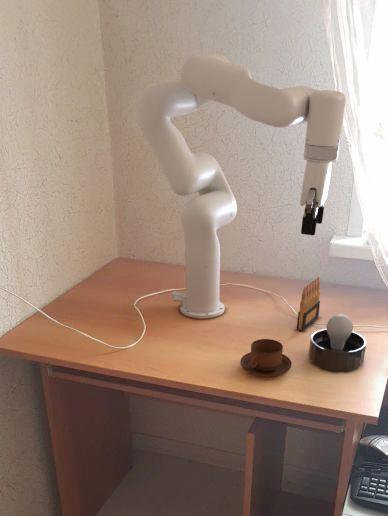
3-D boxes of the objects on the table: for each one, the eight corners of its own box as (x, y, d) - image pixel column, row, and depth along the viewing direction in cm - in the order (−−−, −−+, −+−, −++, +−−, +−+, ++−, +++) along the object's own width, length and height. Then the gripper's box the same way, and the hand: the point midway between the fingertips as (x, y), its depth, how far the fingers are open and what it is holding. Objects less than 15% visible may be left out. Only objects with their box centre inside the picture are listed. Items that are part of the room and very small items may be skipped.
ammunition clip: (302, 331, 166) (306, 289, 160) (296, 330, 167) (300, 287, 161) (318, 317, 174) (323, 276, 168) (312, 316, 175) (316, 275, 168)
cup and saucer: (283, 385, 142) (285, 361, 139) (233, 375, 146) (233, 352, 143) (296, 362, 151) (298, 339, 148) (249, 353, 155) (250, 331, 152)
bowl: (304, 368, 149) (306, 347, 146) (313, 345, 159) (315, 325, 156) (360, 376, 145) (363, 355, 142) (365, 352, 156) (368, 332, 153)
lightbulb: (343, 365, 148) (349, 322, 143) (319, 359, 151) (323, 317, 145) (352, 355, 153) (358, 313, 147) (328, 349, 156) (333, 308, 150)
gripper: (311, 144, 148) (302, 216, 157) (296, 158, 134) (288, 237, 143) (343, 147, 146) (333, 220, 155) (332, 161, 132) (321, 241, 141)
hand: (311, 228), depth 149 cm, fingers open, 9 cm apart
